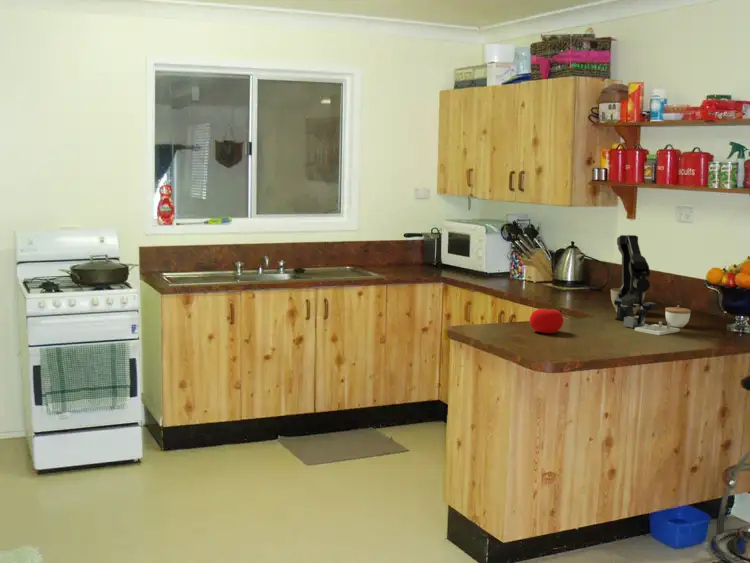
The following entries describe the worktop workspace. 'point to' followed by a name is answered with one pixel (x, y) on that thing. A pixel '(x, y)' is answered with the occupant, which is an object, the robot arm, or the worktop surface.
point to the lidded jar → (677, 316)
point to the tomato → (546, 320)
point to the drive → (633, 321)
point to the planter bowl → (614, 294)
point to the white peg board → (657, 329)
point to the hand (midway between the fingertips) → (634, 323)
